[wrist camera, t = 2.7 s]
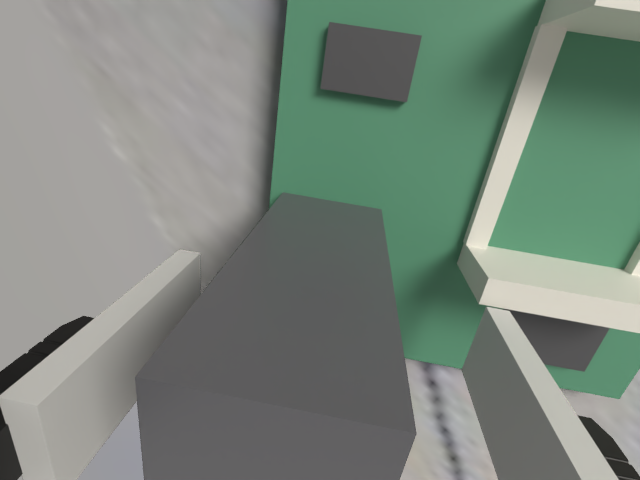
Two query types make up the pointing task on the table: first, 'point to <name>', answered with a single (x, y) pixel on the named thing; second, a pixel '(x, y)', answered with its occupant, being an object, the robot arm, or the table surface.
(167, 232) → the table surface
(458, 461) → the table surface
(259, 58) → the table surface
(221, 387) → the plug
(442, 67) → the board
